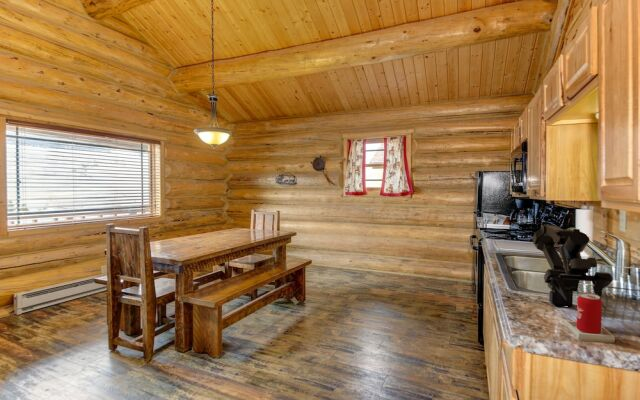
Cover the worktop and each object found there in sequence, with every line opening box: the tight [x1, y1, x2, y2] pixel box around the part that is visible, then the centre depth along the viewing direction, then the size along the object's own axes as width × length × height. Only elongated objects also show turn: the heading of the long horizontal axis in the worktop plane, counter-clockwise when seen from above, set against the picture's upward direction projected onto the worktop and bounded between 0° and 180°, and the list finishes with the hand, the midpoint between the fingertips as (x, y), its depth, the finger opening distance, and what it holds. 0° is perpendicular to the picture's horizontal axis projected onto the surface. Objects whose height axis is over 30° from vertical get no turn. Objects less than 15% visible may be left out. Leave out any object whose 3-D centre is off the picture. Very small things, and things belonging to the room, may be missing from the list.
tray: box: [564, 320, 616, 344], centre depth 111 cm, size 10×10×2 cm
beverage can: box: [576, 292, 603, 334], centre depth 111 cm, size 6×6×12 cm
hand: (582, 301), depth 115 cm, fingers open, 9 cm apart
